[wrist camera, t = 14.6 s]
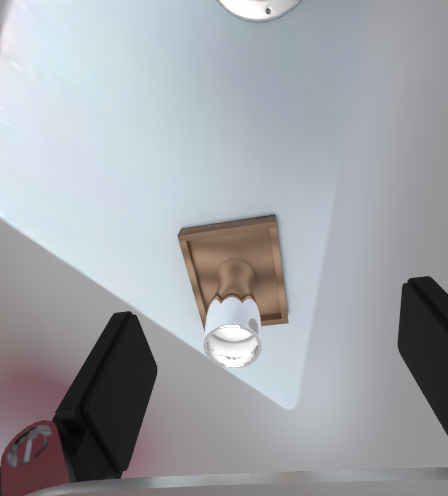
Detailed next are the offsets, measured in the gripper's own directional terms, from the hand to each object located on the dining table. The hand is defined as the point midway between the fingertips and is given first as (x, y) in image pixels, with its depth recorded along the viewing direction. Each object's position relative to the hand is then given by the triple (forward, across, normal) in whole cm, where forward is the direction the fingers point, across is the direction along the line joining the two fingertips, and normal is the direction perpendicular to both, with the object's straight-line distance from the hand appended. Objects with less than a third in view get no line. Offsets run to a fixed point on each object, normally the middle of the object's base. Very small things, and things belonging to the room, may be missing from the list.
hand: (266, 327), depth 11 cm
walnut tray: (+33, +5, +18) cm, 38 cm away
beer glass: (+32, +5, +18) cm, 37 cm away
